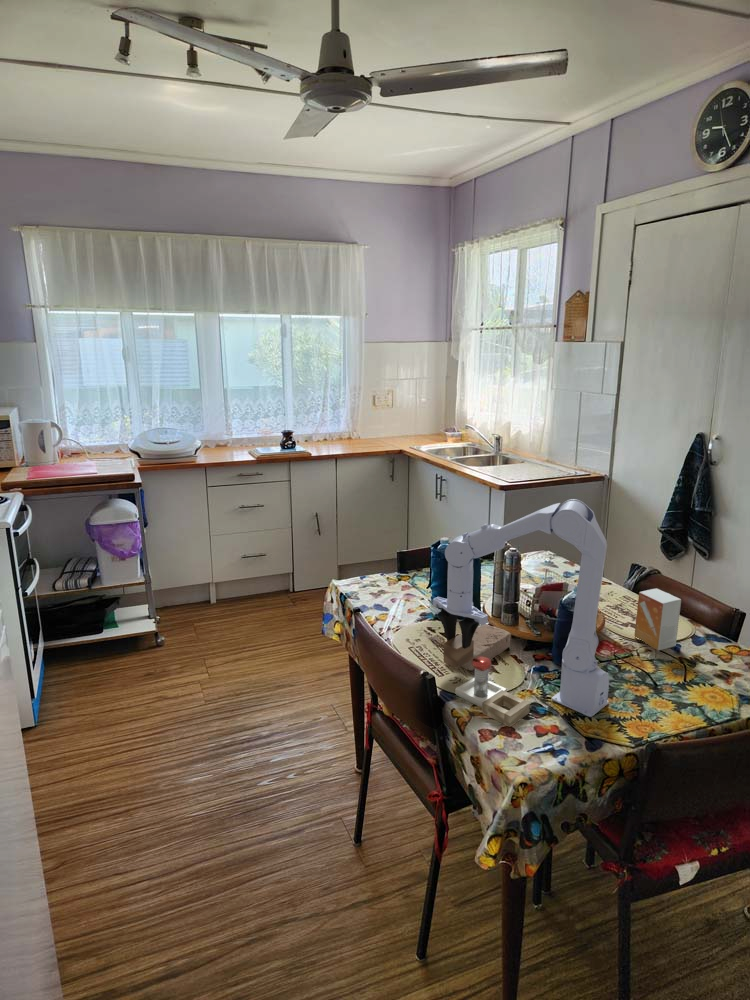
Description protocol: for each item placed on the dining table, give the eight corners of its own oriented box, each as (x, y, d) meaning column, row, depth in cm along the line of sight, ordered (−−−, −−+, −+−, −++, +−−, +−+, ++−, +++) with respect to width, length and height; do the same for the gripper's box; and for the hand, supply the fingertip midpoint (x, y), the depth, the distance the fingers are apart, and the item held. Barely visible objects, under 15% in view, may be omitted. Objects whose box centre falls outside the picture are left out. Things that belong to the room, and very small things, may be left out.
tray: (506, 694, 142) (506, 688, 142) (484, 709, 137) (484, 702, 136) (477, 681, 148) (477, 675, 147) (455, 694, 142) (455, 688, 142)
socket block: (529, 713, 135) (529, 702, 135) (509, 727, 130) (510, 716, 130) (501, 700, 140) (502, 689, 139) (482, 712, 135) (482, 702, 135)
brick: (472, 672, 152) (473, 654, 151) (444, 660, 158) (445, 643, 157) (511, 648, 164) (512, 631, 162) (484, 638, 169) (484, 622, 168)
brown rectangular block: (473, 658, 150) (473, 639, 149) (457, 668, 146) (457, 649, 145) (460, 653, 153) (460, 634, 152) (443, 662, 149) (443, 643, 148)
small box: (633, 637, 168) (638, 591, 165) (651, 633, 170) (656, 587, 167) (657, 651, 161) (663, 603, 157) (676, 646, 163) (682, 598, 160)
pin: (493, 696, 141) (494, 663, 139) (478, 700, 139) (479, 667, 137) (483, 687, 144) (484, 655, 142) (468, 691, 143) (469, 659, 141)
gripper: (496, 592, 143) (494, 648, 146) (446, 575, 153) (445, 628, 156) (477, 601, 138) (475, 658, 141) (427, 583, 148) (426, 637, 152)
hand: (458, 643), depth 149 cm, fingers closed on brown rectangular block, 4 cm apart
